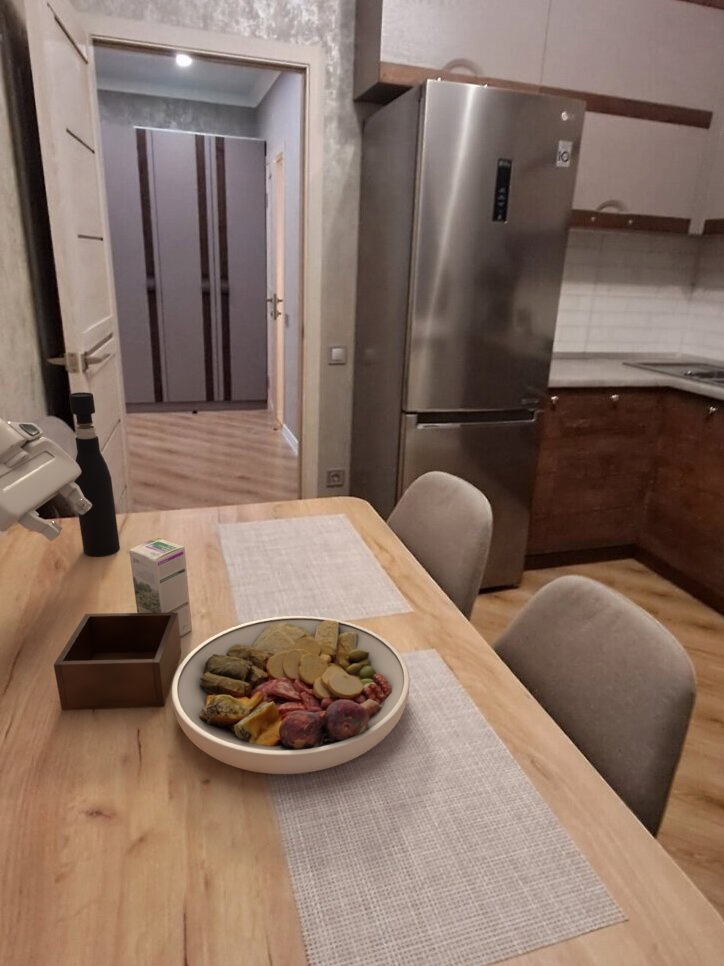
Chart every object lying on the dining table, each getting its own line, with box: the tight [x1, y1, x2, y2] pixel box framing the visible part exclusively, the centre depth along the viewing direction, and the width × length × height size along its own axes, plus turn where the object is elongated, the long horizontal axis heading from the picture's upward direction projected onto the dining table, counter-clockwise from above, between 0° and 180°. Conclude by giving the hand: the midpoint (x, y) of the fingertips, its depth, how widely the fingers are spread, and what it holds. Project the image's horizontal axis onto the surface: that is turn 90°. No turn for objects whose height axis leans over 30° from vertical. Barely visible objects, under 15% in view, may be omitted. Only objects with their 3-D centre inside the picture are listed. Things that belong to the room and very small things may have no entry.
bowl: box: [170, 615, 411, 775], centre depth 86 cm, size 30×30×8 cm
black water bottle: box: [68, 391, 121, 557], centre depth 123 cm, size 6×6×30 cm
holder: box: [53, 612, 182, 711], centre depth 90 cm, size 13×13×7 cm
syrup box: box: [128, 537, 193, 638], centre depth 100 cm, size 6×6×14 cm
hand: (73, 522), depth 95 cm, fingers open, 8 cm apart
